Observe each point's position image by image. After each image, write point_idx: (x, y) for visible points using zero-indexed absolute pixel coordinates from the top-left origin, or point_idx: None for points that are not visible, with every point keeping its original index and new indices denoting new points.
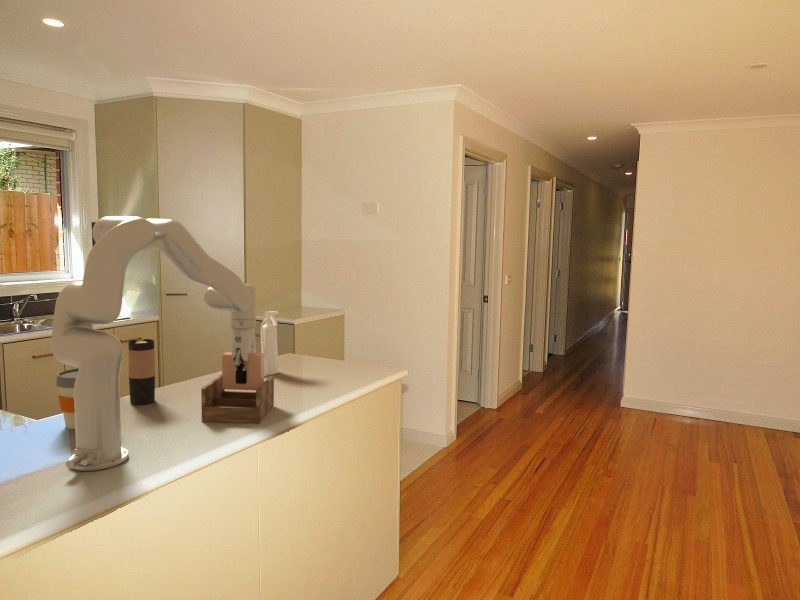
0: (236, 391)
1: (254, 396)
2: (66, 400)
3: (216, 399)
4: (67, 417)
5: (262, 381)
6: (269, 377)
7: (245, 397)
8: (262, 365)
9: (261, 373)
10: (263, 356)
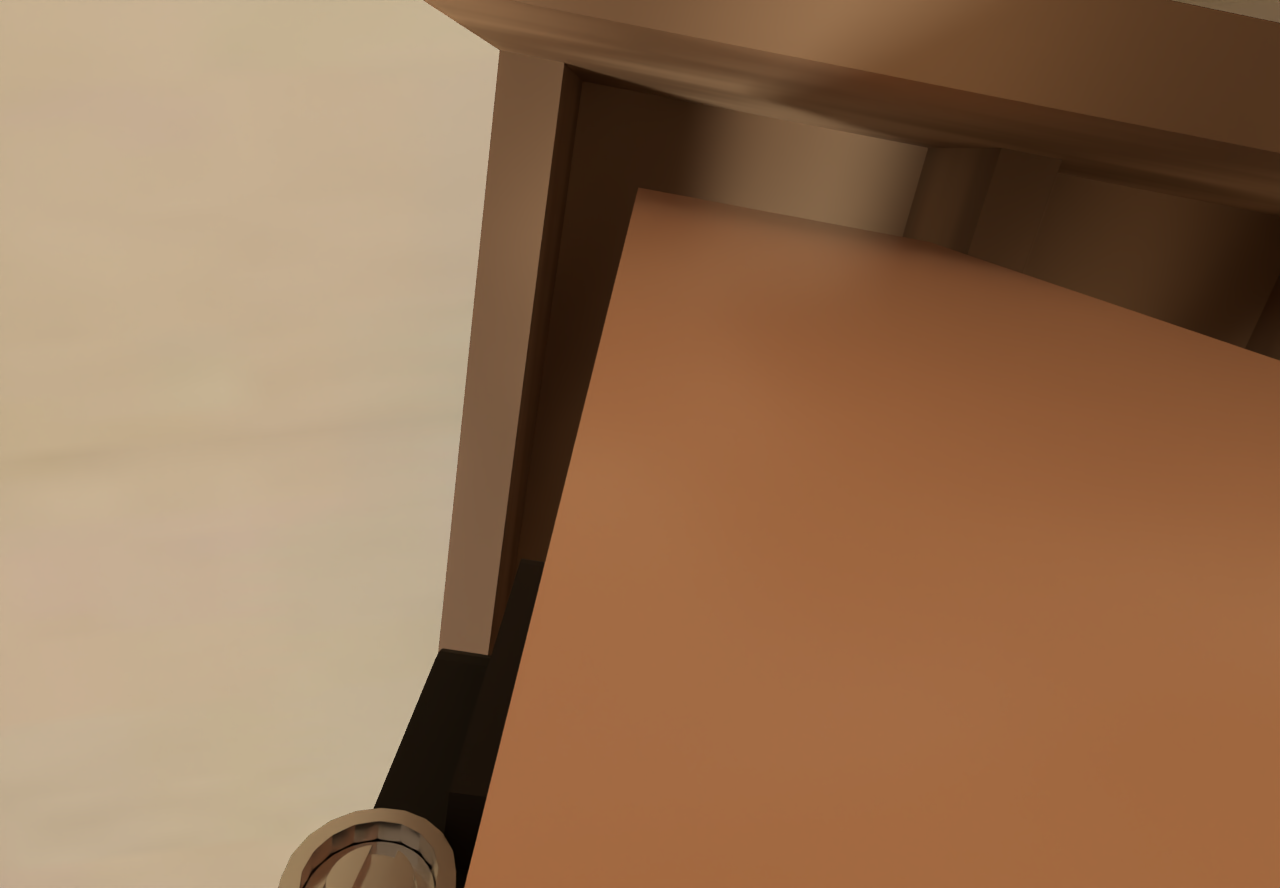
0: (451, 648)
1: (535, 354)
2: None
3: None
4: None
5: (828, 233)
6: (626, 9)
7: (519, 482)
8: (1082, 356)
9: (1074, 304)
10: (1242, 730)
